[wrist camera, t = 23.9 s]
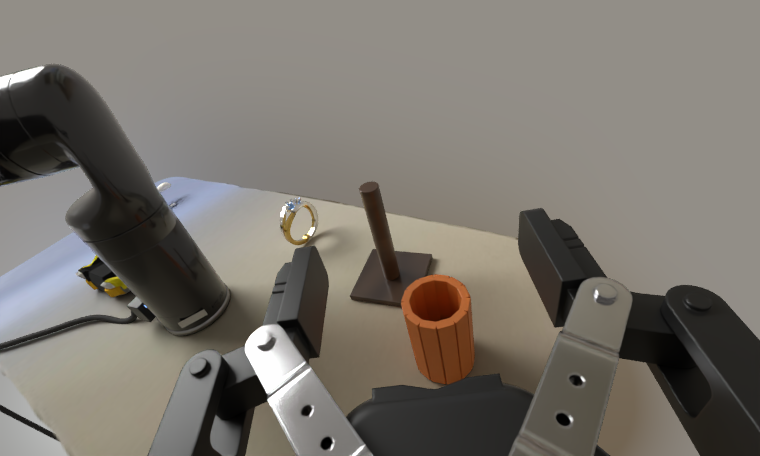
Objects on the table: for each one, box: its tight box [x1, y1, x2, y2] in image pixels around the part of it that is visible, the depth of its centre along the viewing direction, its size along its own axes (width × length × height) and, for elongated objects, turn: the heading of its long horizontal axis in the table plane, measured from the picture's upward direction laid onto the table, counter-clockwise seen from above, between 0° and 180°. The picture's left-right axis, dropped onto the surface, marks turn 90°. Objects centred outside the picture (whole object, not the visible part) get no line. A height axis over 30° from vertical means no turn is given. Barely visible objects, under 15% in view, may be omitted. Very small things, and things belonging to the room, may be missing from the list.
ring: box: [280, 197, 318, 245], centre depth 57 cm, size 7×3×8 cm, turn 141°
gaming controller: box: [76, 255, 131, 297], centre depth 60 cm, size 15×6×10 cm
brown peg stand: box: [350, 182, 432, 307], centre depth 44 cm, size 9×9×15 cm
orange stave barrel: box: [401, 274, 475, 385], centre depth 35 cm, size 6×6×10 cm
